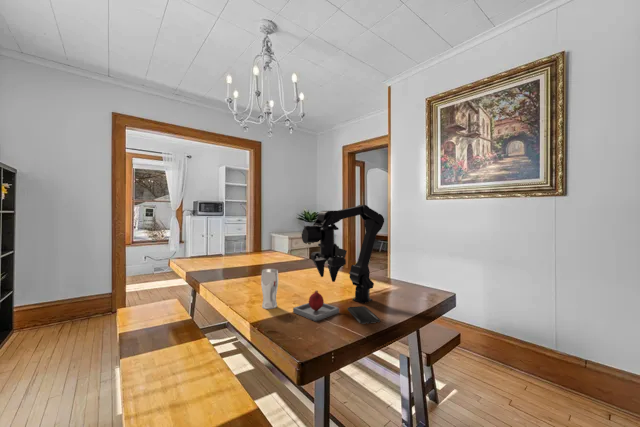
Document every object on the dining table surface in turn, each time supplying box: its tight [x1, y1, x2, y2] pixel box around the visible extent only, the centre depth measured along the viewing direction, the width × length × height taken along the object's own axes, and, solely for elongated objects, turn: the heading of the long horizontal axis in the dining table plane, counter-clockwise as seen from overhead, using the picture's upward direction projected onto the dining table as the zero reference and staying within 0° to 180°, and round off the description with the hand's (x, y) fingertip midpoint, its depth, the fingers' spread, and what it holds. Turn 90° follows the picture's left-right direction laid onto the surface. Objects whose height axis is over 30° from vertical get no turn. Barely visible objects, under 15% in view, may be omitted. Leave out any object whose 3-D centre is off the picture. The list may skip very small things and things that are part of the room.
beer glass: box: [260, 268, 279, 310], centre depth 114 cm, size 7×7×15 cm
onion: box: [308, 289, 325, 311], centre depth 108 cm, size 6×6×8 cm
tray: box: [292, 302, 340, 322], centre depth 108 cm, size 13×13×2 cm
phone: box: [347, 305, 381, 325], centre depth 106 cm, size 8×1×15 cm
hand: (327, 279), depth 114 cm, fingers open, 9 cm apart
